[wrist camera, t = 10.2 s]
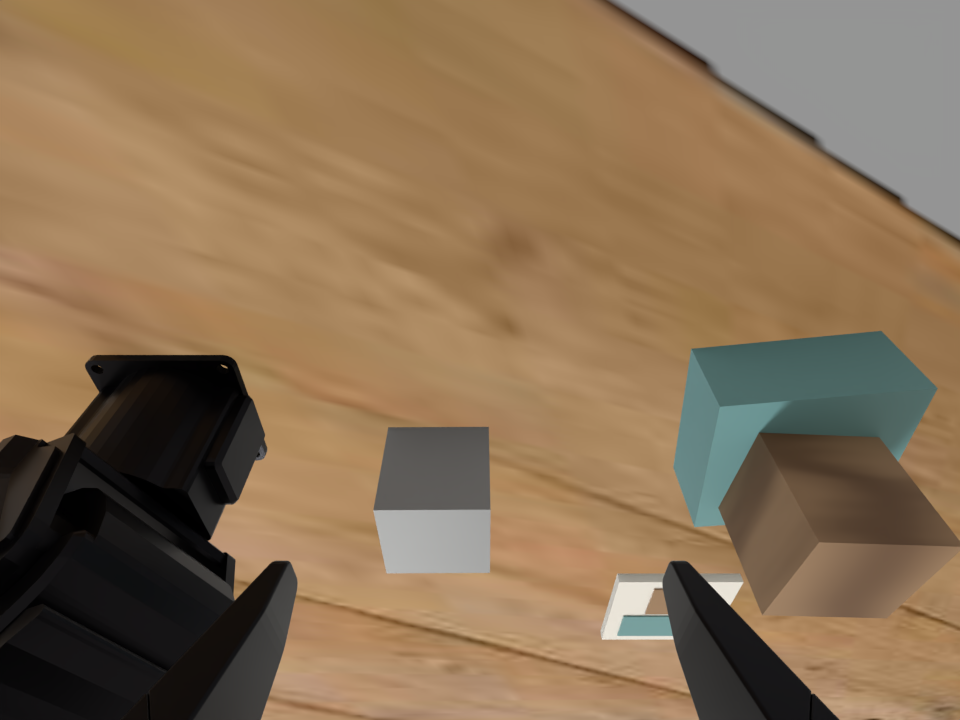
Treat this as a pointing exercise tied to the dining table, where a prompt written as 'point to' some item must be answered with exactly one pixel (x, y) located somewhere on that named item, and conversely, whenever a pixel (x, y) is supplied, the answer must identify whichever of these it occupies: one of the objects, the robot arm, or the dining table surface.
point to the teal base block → (789, 404)
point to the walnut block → (832, 527)
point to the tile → (651, 605)
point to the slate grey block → (435, 500)
